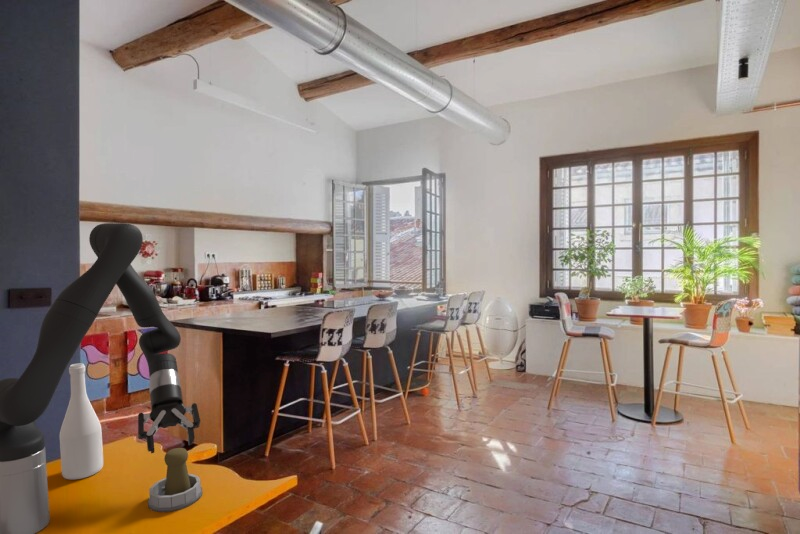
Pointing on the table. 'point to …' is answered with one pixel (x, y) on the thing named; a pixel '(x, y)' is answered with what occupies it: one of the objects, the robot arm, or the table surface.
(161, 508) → the small gray bowl
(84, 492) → the table surface
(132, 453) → the table surface
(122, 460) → the table surface
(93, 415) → the wine bottle
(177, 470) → the cork
